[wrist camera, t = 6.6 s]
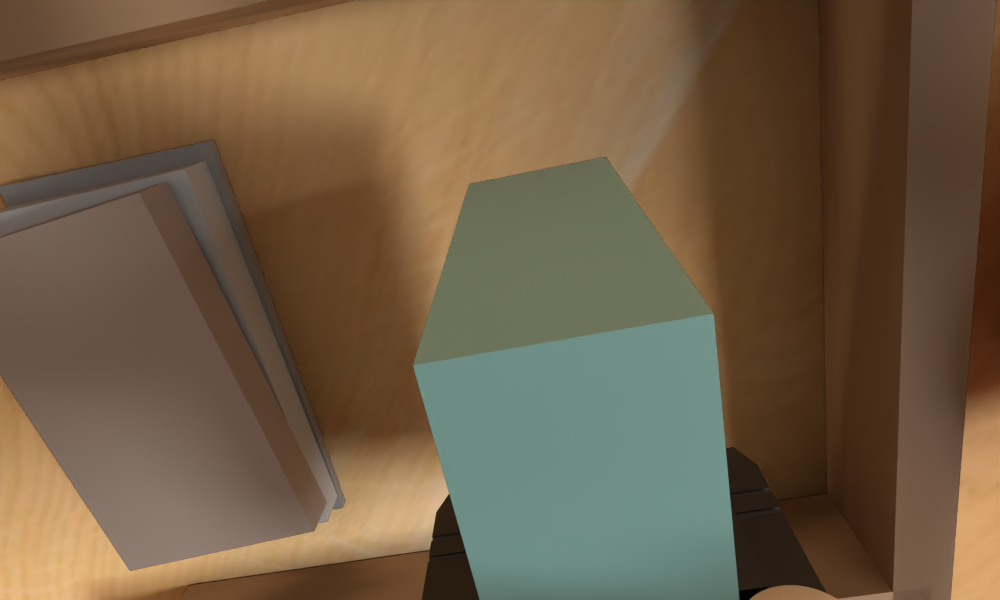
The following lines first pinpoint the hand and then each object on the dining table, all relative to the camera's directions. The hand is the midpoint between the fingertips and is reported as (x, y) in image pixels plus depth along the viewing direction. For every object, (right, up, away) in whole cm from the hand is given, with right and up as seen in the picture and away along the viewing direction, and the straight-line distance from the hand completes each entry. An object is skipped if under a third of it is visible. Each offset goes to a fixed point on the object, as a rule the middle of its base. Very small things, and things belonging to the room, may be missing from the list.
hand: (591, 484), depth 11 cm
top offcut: (-11, +1, +7) cm, 13 cm away
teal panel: (0, +1, +2) cm, 3 cm away
